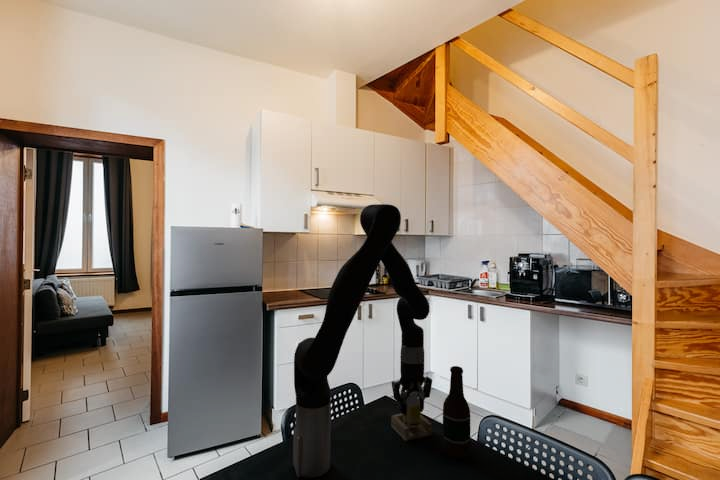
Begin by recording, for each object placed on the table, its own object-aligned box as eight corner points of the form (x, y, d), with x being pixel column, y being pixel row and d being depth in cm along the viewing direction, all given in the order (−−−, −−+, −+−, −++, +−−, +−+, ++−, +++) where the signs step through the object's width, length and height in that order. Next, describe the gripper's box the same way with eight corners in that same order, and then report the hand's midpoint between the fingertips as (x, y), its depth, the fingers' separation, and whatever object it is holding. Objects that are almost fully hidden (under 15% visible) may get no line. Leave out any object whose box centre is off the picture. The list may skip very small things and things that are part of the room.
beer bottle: (439, 455, 98) (439, 369, 99) (445, 441, 105) (446, 361, 106) (467, 463, 95) (468, 374, 95) (472, 449, 101) (473, 365, 102)
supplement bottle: (422, 422, 112) (423, 391, 112) (416, 429, 107) (416, 397, 108) (407, 418, 115) (407, 387, 115) (400, 424, 110) (400, 393, 110)
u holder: (405, 440, 105) (405, 429, 105) (391, 426, 114) (391, 415, 114) (431, 435, 109) (432, 423, 109) (416, 421, 118) (416, 410, 118)
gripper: (398, 365, 105) (397, 422, 105) (438, 360, 111) (437, 414, 110) (386, 358, 112) (386, 411, 112) (425, 353, 118) (424, 404, 117)
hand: (411, 412), depth 111 cm, fingers closed on supplement bottle, 5 cm apart
